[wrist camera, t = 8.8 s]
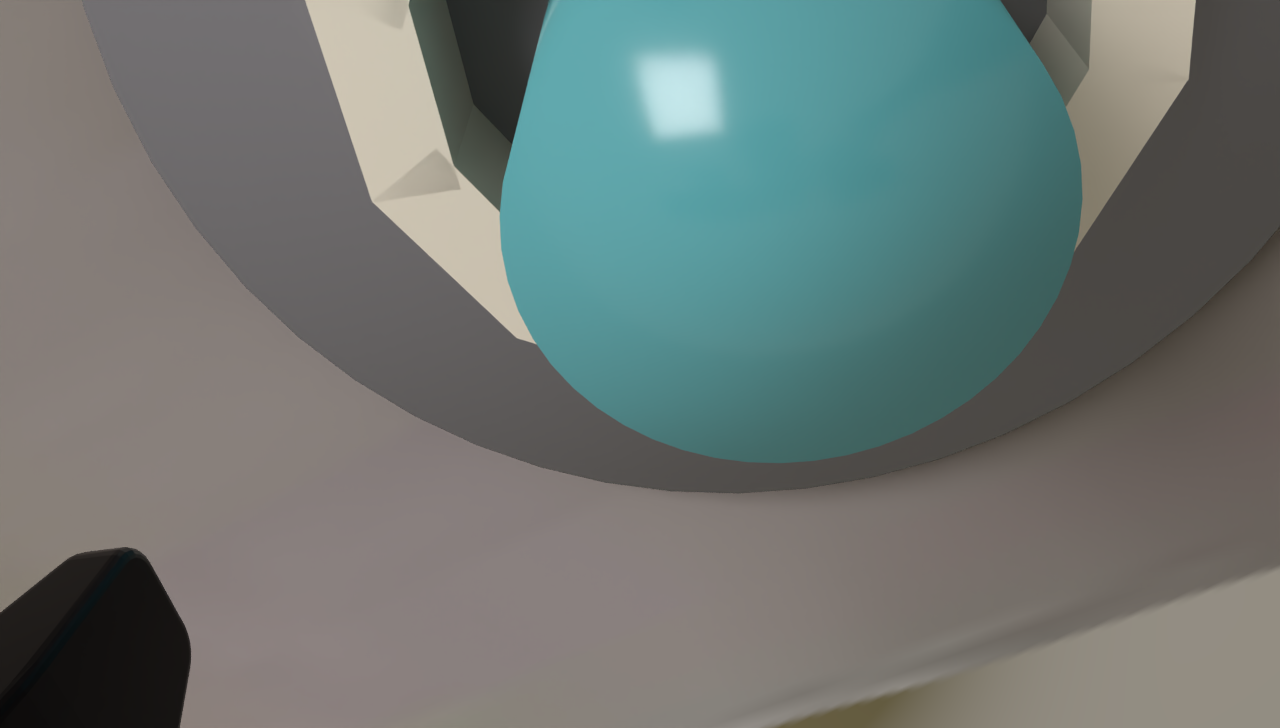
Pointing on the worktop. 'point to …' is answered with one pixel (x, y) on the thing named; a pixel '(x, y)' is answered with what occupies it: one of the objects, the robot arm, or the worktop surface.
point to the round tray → (505, 387)
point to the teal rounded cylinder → (786, 214)
